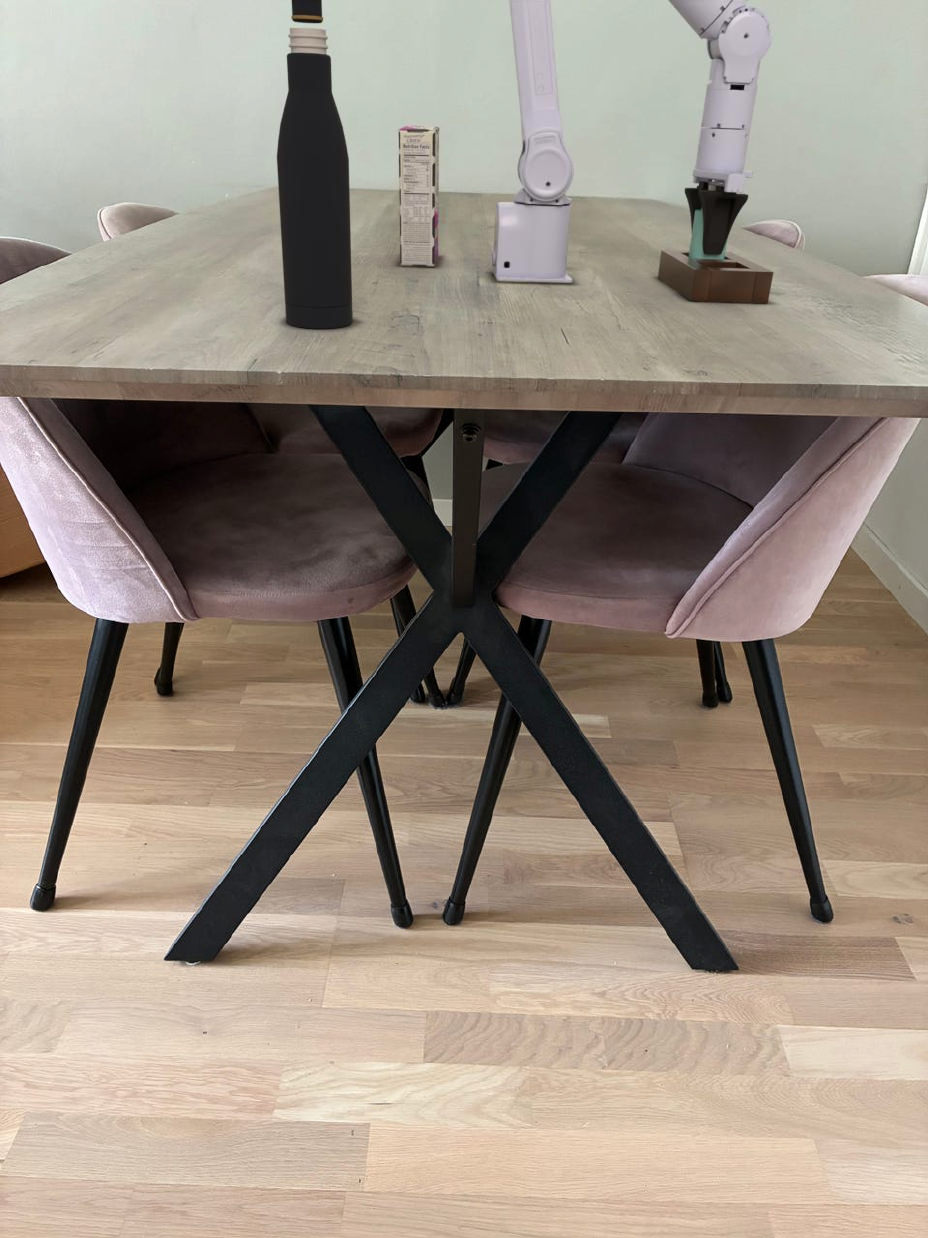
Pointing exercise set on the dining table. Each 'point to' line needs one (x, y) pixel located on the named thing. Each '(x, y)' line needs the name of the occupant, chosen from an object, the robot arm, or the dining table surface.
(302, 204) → the black bottle
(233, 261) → the dining table surface
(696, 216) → the small bottle
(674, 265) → the peg block
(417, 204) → the candy bar box
